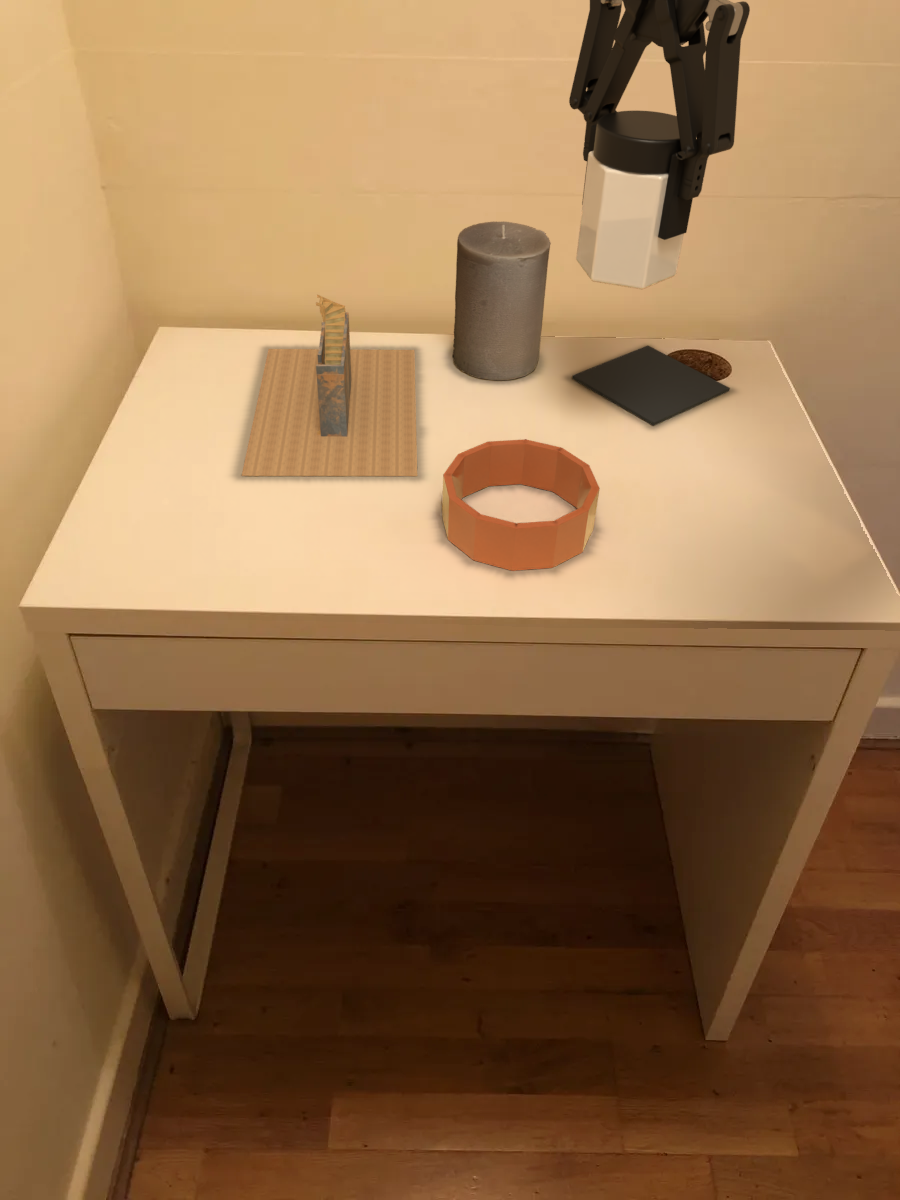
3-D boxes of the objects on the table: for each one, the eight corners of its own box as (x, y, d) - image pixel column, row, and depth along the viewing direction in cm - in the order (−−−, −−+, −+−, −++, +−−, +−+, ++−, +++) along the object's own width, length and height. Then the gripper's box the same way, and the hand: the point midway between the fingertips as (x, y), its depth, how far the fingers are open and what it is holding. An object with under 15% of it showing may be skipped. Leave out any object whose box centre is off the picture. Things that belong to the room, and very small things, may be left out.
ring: (621, 532, 86) (628, 490, 83) (510, 590, 80) (514, 547, 77) (523, 465, 94) (527, 424, 91) (414, 513, 88) (414, 471, 85)
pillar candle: (435, 354, 110) (437, 220, 100) (502, 332, 115) (511, 201, 105) (489, 390, 104) (497, 252, 94) (557, 365, 109) (572, 231, 99)
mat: (729, 391, 106) (730, 387, 105) (653, 426, 100) (653, 422, 100) (647, 348, 112) (647, 345, 112) (571, 378, 107) (572, 375, 106)
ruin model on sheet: (268, 349, 110) (259, 264, 103) (414, 350, 111) (414, 266, 104) (241, 475, 91) (228, 382, 85) (417, 476, 92) (417, 383, 86)
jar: (682, 259, 89) (709, 117, 81) (668, 295, 83) (696, 146, 75) (585, 244, 91) (603, 104, 83) (565, 278, 85) (582, 131, 77)
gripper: (540, -121, 73) (518, 191, 88) (770, -83, 61) (699, 270, 76) (610, -125, 77) (577, 175, 92) (840, -91, 65) (759, 248, 80)
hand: (632, 218), depth 84 cm, fingers closed on jar, 8 cm apart
